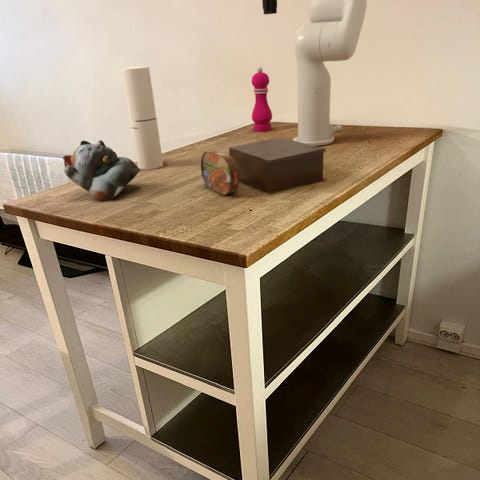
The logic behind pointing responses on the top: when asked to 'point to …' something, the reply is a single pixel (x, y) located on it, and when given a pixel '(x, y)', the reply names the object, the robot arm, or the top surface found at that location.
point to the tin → (220, 172)
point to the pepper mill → (261, 102)
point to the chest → (279, 172)
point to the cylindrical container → (142, 116)
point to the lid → (276, 150)
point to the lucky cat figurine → (99, 170)
